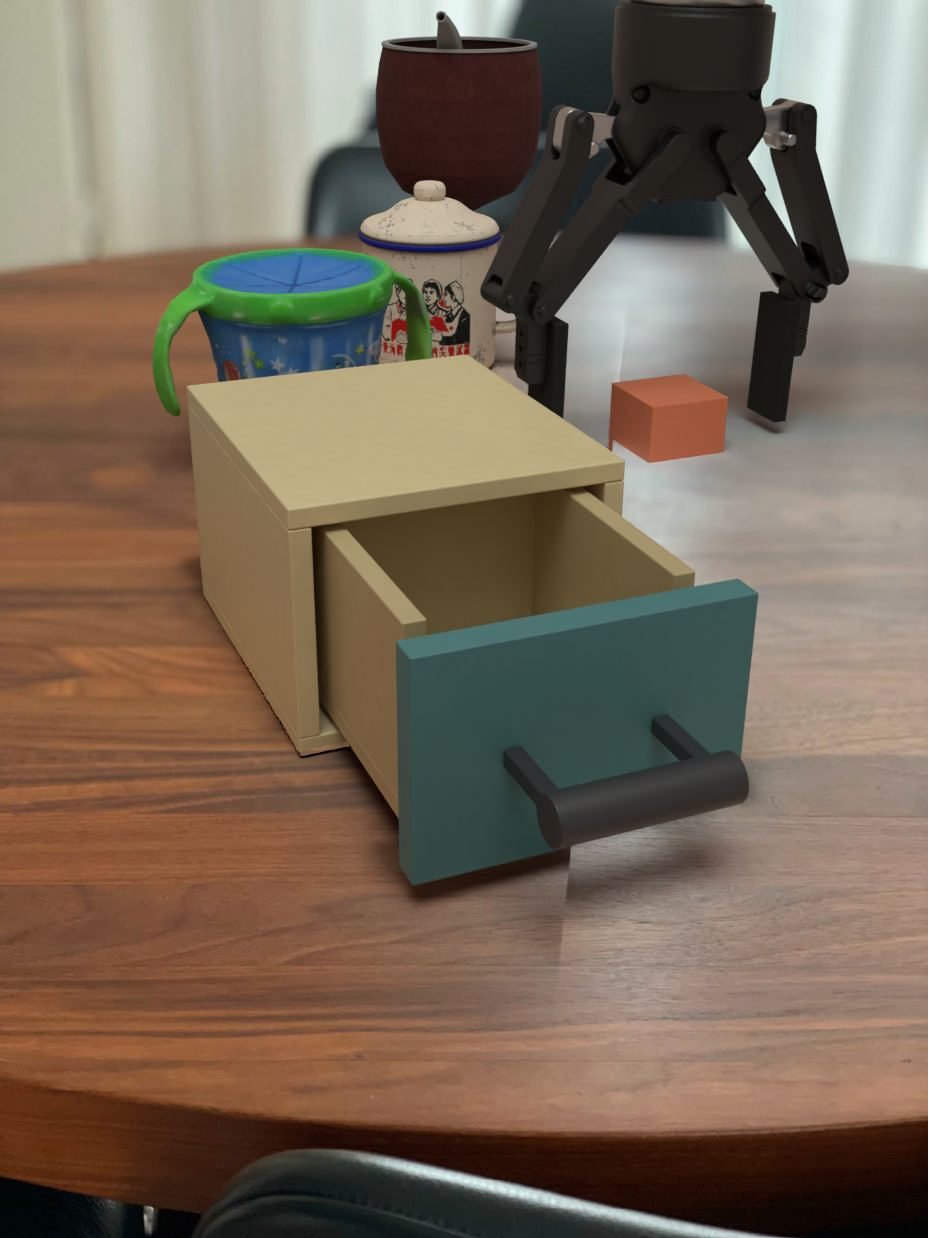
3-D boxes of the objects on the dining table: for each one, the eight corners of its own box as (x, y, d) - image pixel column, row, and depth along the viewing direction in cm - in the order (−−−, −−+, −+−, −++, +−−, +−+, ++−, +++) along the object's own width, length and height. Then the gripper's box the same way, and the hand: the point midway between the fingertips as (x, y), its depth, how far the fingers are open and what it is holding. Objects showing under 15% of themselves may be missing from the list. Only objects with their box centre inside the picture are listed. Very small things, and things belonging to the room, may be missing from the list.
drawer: (813, 880, 44) (844, 653, 41) (467, 975, 40) (470, 732, 37) (555, 634, 59) (563, 452, 55) (284, 685, 55) (274, 492, 51)
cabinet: (612, 693, 56) (626, 459, 52) (300, 758, 52) (287, 509, 48) (466, 552, 68) (467, 353, 64) (202, 595, 64) (185, 384, 60)
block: (678, 451, 81) (684, 373, 79) (721, 478, 77) (728, 397, 75) (606, 461, 79) (611, 382, 77) (647, 489, 76) (652, 406, 74)
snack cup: (186, 504, 73) (169, 305, 69) (141, 440, 82) (123, 259, 78) (468, 463, 79) (469, 277, 74) (398, 407, 88) (395, 237, 83)
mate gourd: (396, 233, 134) (393, -3, 125) (546, 239, 132) (554, 0, 123) (357, 270, 120) (351, 9, 111) (524, 278, 118) (531, 12, 109)
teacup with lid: (345, 378, 93) (340, 191, 88) (380, 340, 101) (377, 167, 96) (530, 390, 91) (535, 200, 86) (551, 351, 99) (557, 175, 94)
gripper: (866, -9, 75) (812, 384, 85) (419, -10, 67) (415, 430, 76) (962, 1, 69) (892, 424, 79) (484, 2, 60) (471, 479, 70)
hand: (658, 428), depth 77 cm, fingers open, 13 cm apart
